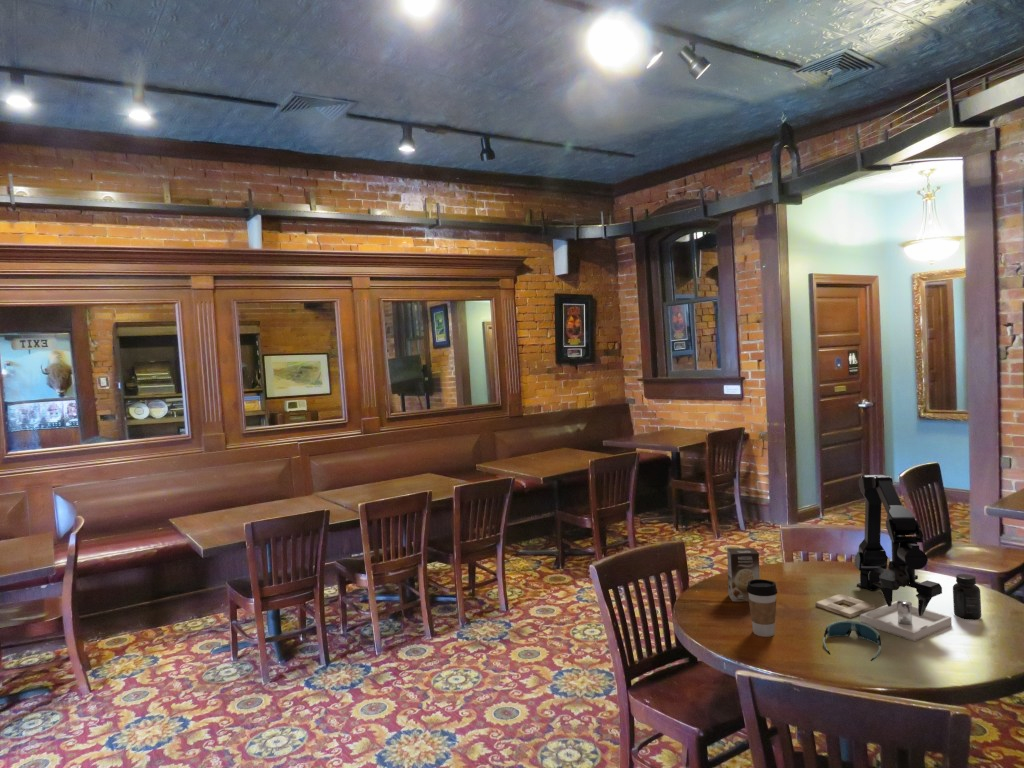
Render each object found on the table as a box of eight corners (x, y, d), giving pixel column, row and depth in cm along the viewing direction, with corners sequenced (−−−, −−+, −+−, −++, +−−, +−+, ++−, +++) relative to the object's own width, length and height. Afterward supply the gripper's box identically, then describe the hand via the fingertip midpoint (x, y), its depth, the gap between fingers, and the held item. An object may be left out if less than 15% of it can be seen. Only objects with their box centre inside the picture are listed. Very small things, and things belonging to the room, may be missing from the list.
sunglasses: (882, 640, 191) (881, 623, 190) (880, 670, 178) (879, 652, 177) (826, 632, 198) (826, 616, 197) (821, 660, 185) (820, 643, 184)
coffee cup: (764, 641, 194) (762, 589, 193) (742, 631, 201) (740, 581, 201) (785, 633, 198) (783, 583, 197) (762, 624, 205) (760, 575, 204)
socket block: (840, 597, 222) (840, 593, 222) (875, 608, 212) (874, 604, 211) (815, 606, 216) (815, 602, 216) (850, 617, 206) (850, 614, 206)
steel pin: (902, 619, 202) (902, 599, 201) (914, 623, 198) (914, 602, 198) (895, 622, 200) (894, 602, 199) (907, 626, 197) (906, 605, 196)
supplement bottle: (983, 615, 202) (982, 575, 202) (979, 622, 197) (978, 581, 197) (956, 610, 207) (954, 571, 206) (951, 617, 202) (950, 577, 201)
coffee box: (732, 602, 224) (730, 553, 223) (728, 595, 230) (726, 548, 229) (761, 601, 223) (759, 553, 222) (756, 594, 229) (754, 547, 228)
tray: (897, 608, 210) (897, 600, 210) (951, 625, 196) (951, 617, 196) (860, 623, 202) (860, 614, 202) (914, 641, 188) (913, 632, 188)
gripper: (855, 556, 202) (857, 607, 203) (918, 572, 186) (920, 628, 187) (879, 548, 208) (880, 599, 209) (942, 563, 191) (944, 618, 192)
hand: (904, 610), depth 199 cm, fingers open, 9 cm apart
